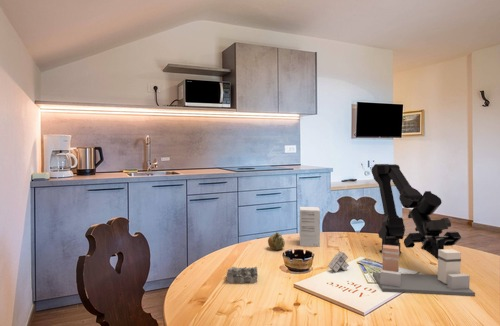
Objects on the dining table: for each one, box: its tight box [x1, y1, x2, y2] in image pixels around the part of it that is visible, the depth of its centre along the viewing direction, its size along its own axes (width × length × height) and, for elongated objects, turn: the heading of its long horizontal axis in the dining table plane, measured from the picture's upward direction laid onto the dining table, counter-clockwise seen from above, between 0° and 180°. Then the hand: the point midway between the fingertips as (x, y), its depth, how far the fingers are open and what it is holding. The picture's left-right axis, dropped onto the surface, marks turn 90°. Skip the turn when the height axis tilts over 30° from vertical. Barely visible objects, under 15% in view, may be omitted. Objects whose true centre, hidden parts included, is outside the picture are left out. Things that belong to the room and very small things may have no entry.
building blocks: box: [327, 251, 350, 273], centre depth 128 cm, size 5×5×8 cm
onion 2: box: [267, 232, 286, 251], centre depth 154 cm, size 8×8×8 cm
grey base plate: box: [372, 269, 476, 297], centre depth 113 cm, size 14×27×5 cm, turn 83°
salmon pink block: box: [381, 245, 400, 272], centre depth 117 cm, size 4×5×10 cm
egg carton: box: [225, 266, 259, 284], centre depth 118 cm, size 11×8×4 cm
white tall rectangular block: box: [437, 248, 462, 284], centre depth 113 cm, size 4×5×10 cm
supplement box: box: [299, 206, 321, 248], centre depth 162 cm, size 10×9×17 cm
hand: (443, 261), depth 116 cm, fingers closed
